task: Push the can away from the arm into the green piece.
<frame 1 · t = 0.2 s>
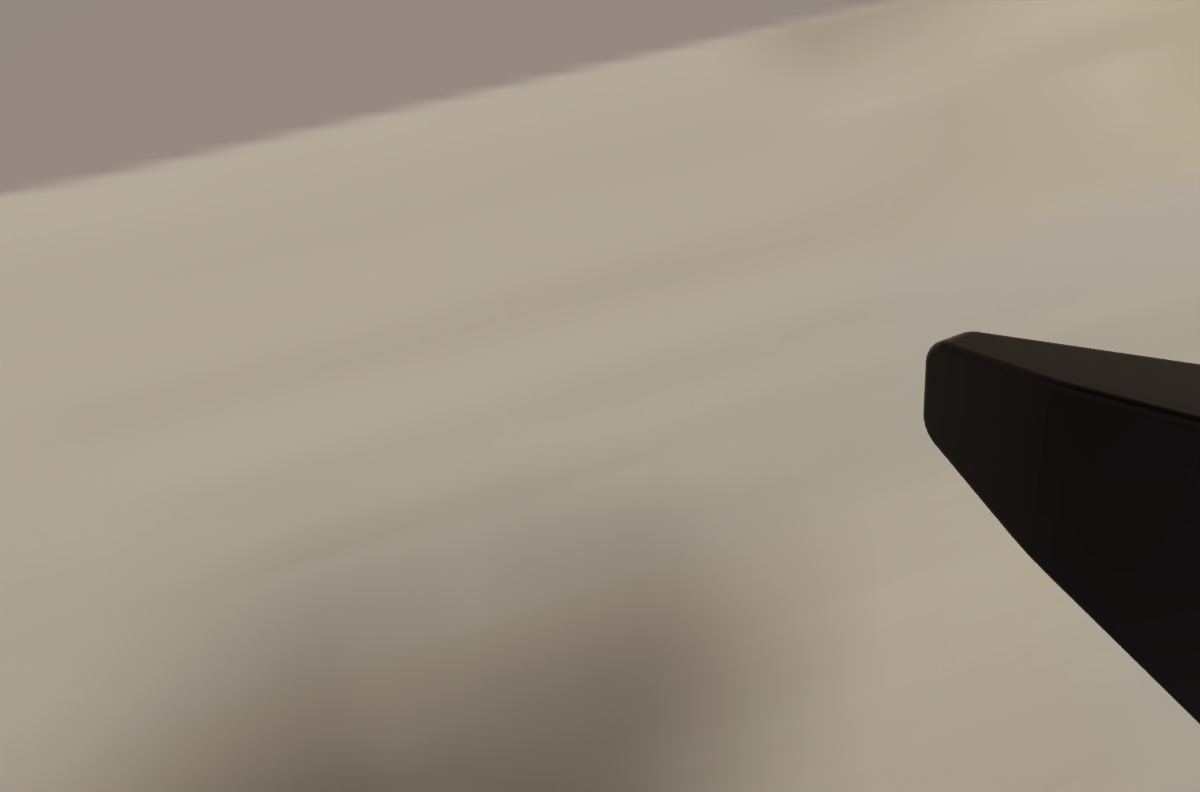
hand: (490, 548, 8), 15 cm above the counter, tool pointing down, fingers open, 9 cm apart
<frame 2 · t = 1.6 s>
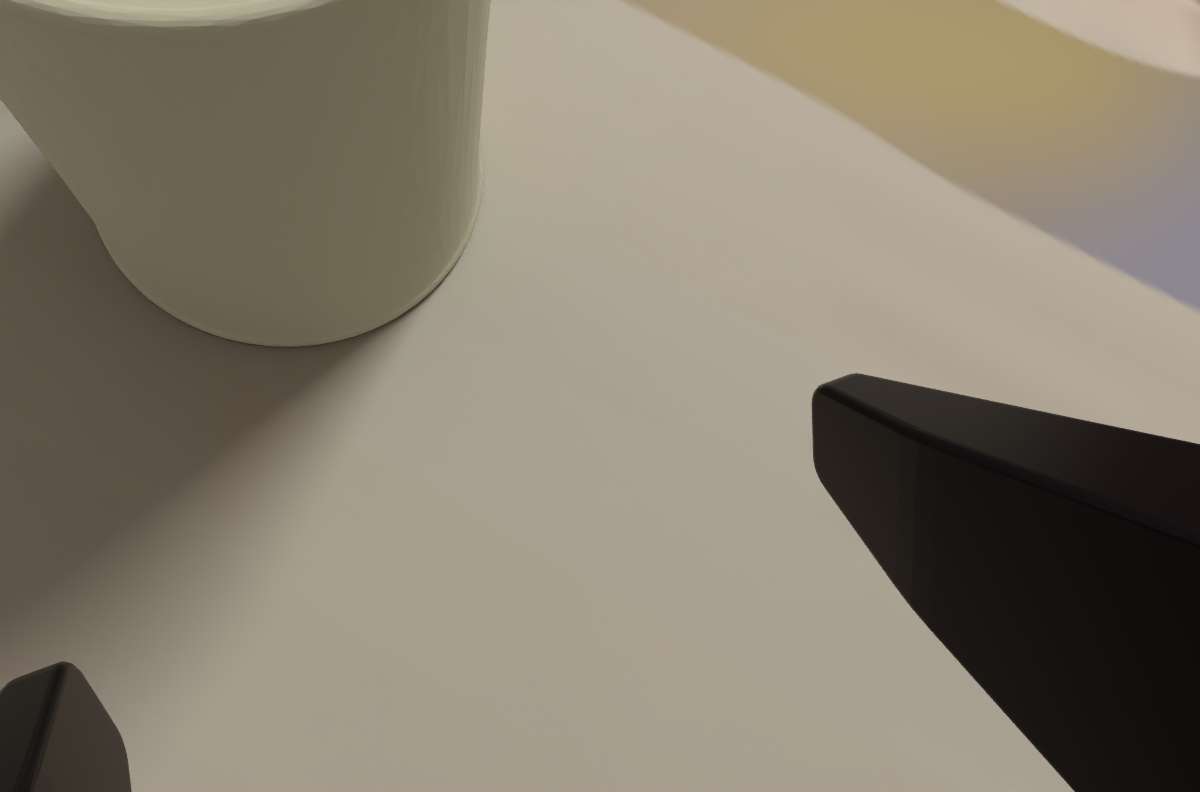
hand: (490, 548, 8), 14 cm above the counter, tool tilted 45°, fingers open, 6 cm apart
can: (294, 175, 23), on the counter
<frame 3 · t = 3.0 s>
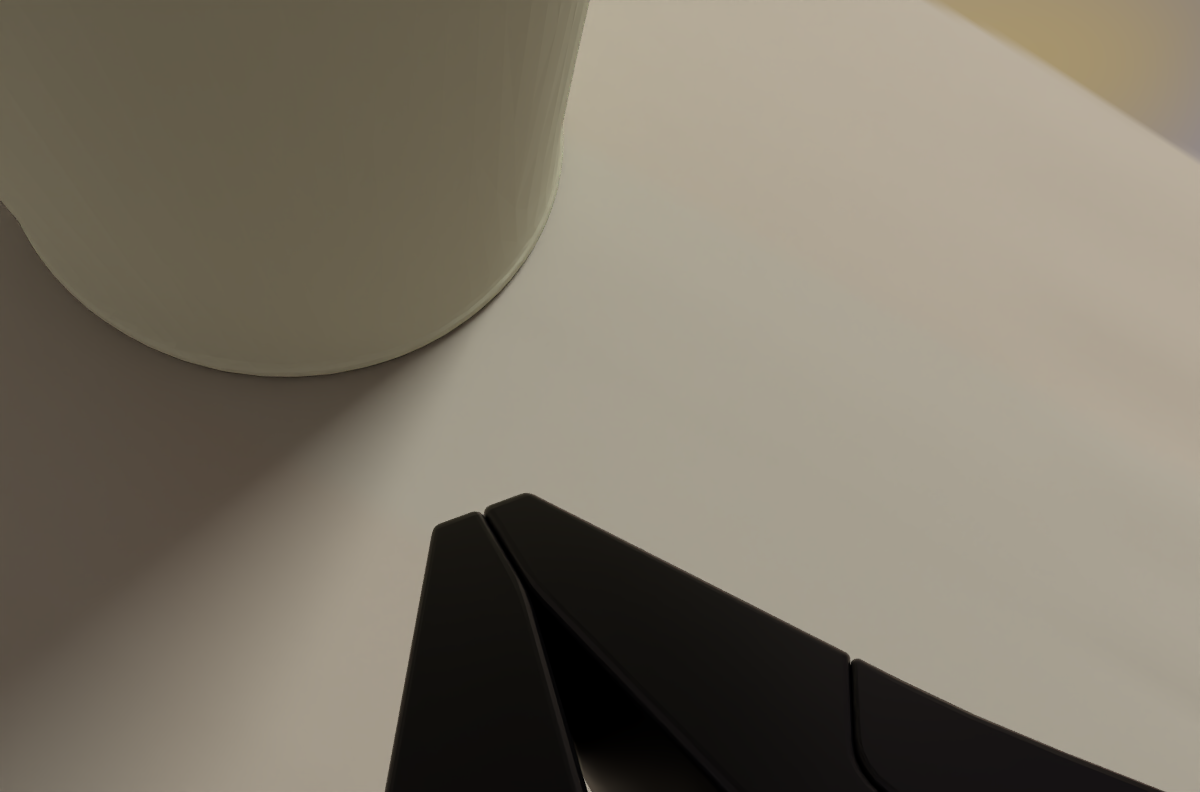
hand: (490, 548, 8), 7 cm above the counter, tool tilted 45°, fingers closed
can: (299, 132, 16), on the counter
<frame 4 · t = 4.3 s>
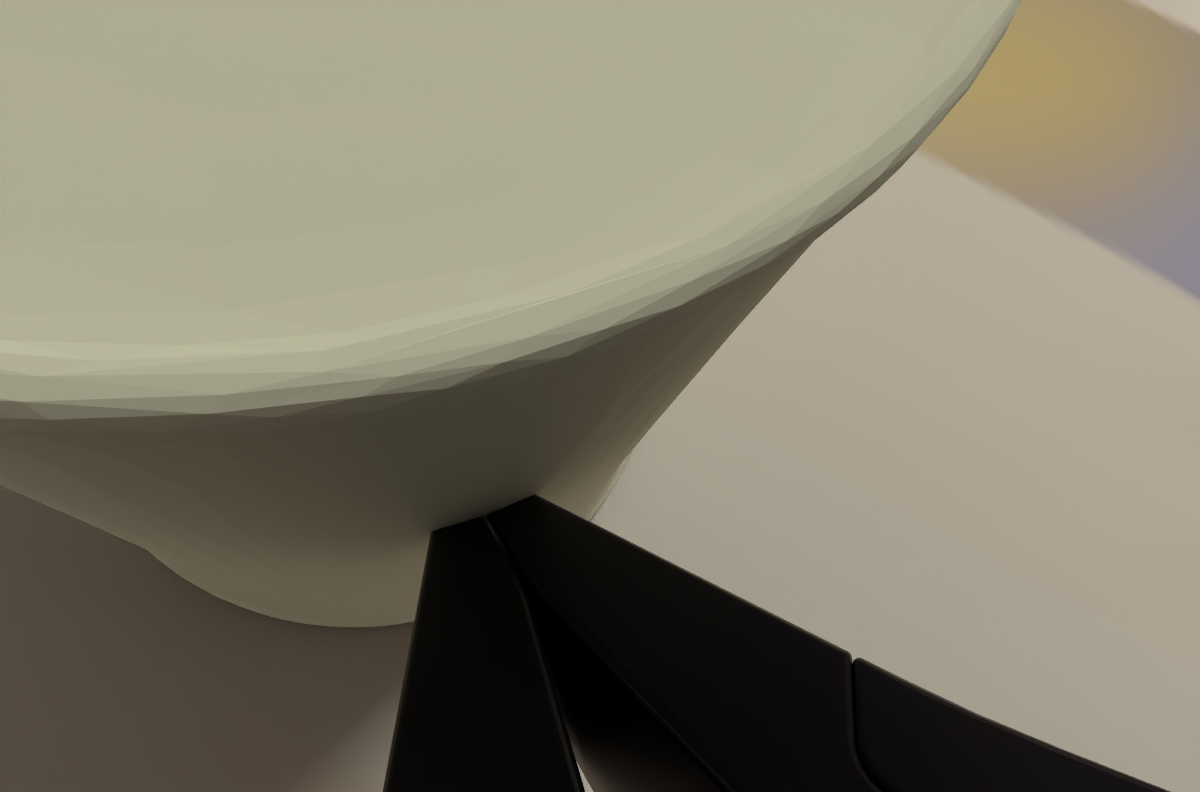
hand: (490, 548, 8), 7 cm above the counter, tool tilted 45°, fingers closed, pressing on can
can: (373, 342, 16), on the counter, touching gripper
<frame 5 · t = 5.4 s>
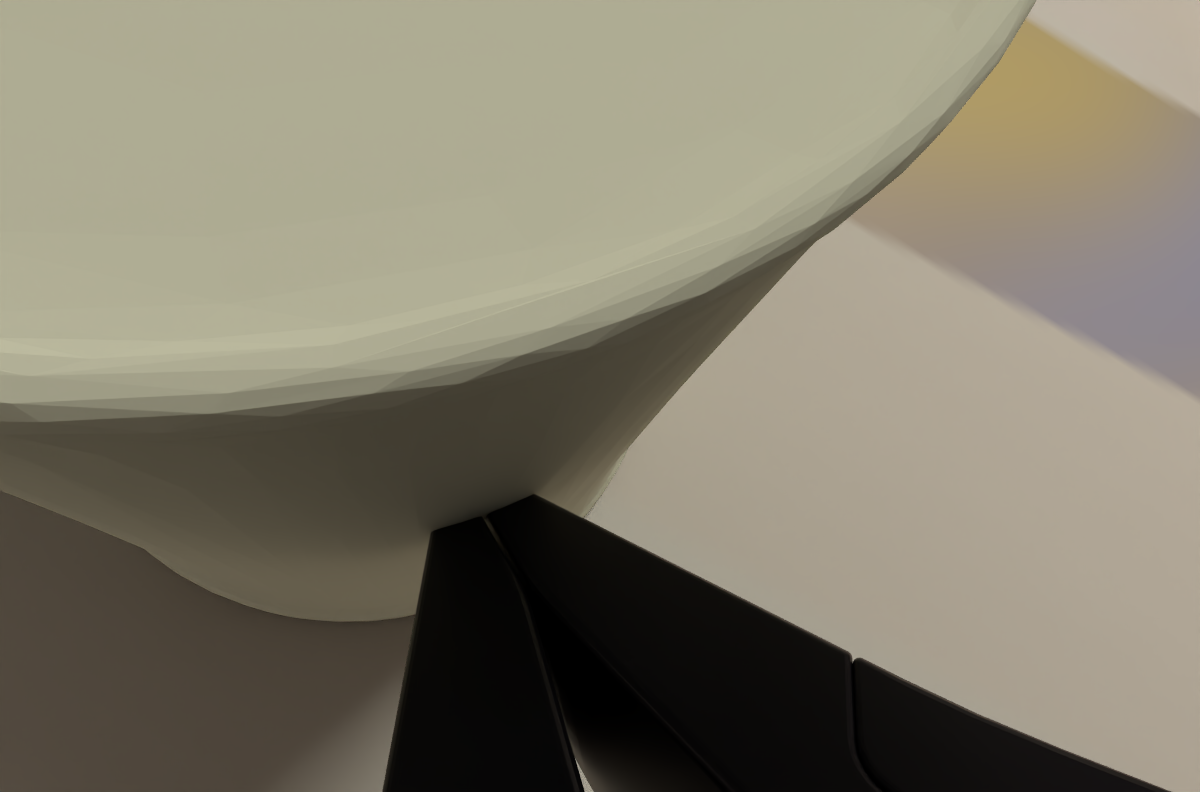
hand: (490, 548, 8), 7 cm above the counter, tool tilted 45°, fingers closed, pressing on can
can: (368, 332, 15), on the counter, touching gripper
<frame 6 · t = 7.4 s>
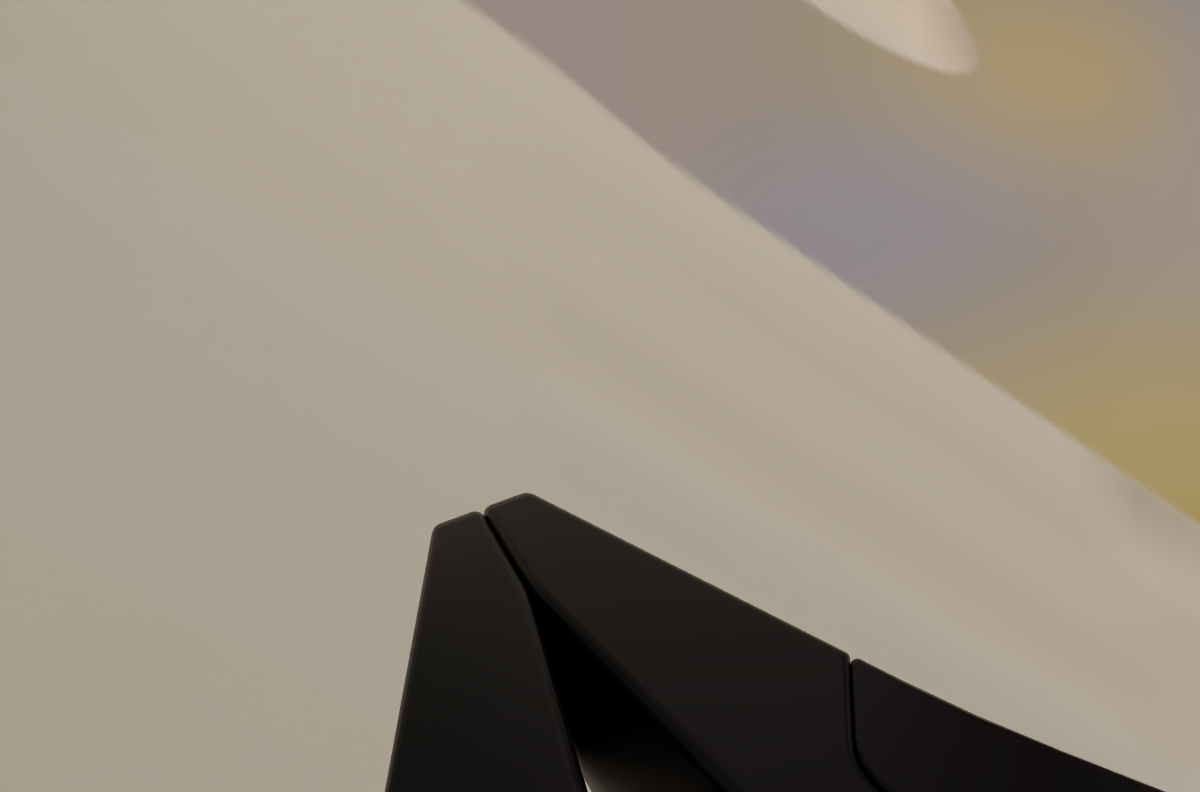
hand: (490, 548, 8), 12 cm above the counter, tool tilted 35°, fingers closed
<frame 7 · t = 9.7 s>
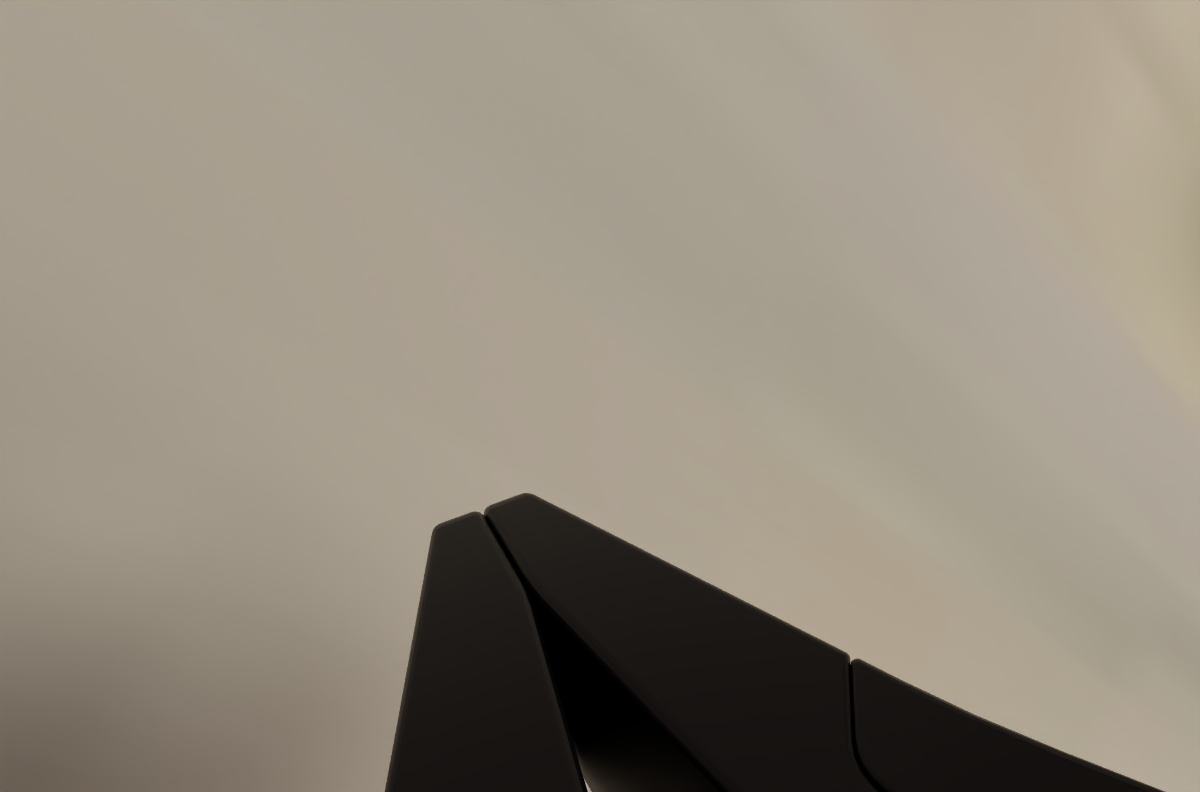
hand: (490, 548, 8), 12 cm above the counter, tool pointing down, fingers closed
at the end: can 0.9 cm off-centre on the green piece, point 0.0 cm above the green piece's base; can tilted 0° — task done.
